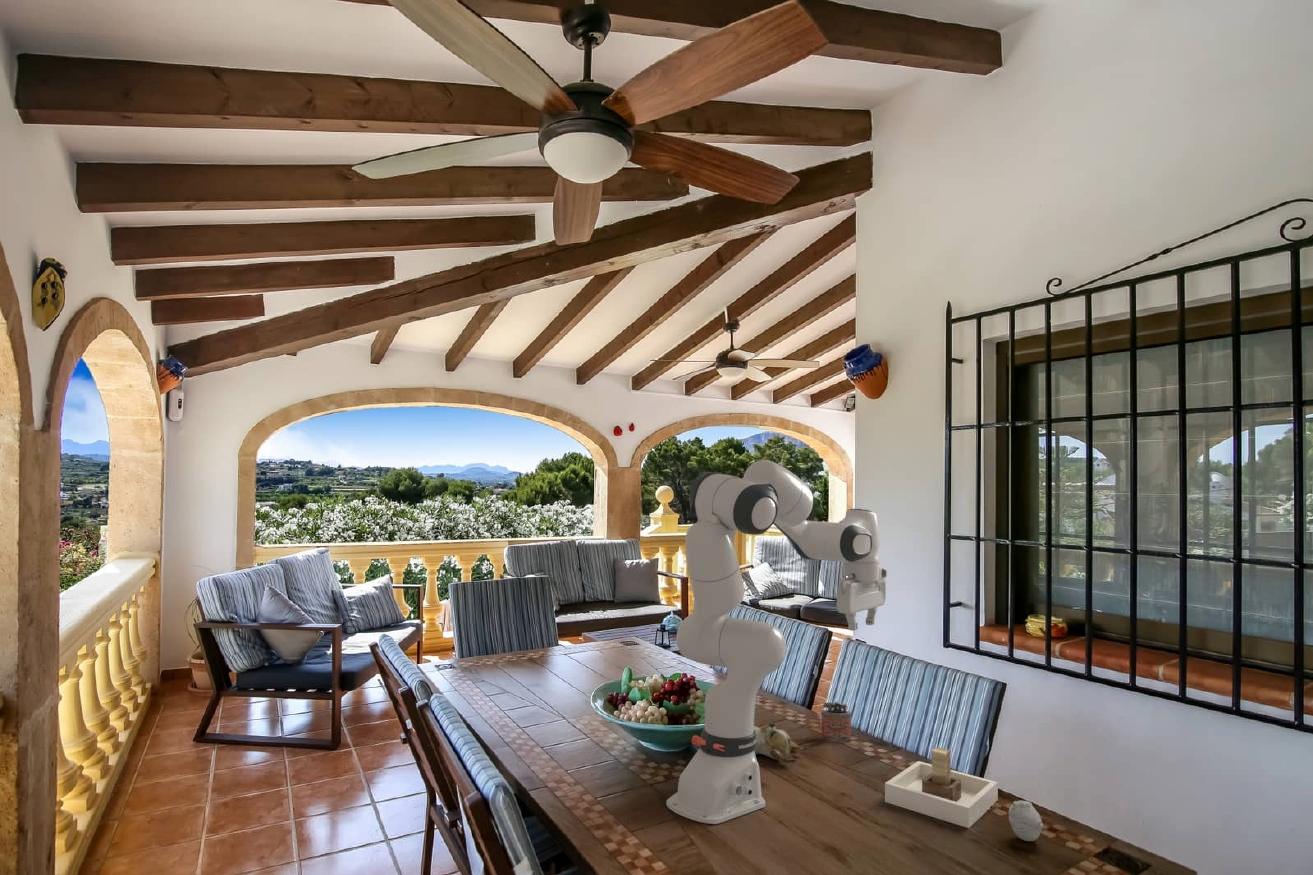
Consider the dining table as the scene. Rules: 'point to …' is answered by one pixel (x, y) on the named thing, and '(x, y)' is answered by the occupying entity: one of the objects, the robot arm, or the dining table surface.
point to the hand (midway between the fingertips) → (861, 627)
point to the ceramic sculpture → (776, 744)
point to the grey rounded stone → (1025, 820)
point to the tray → (942, 794)
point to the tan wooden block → (941, 766)
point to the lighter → (836, 723)
